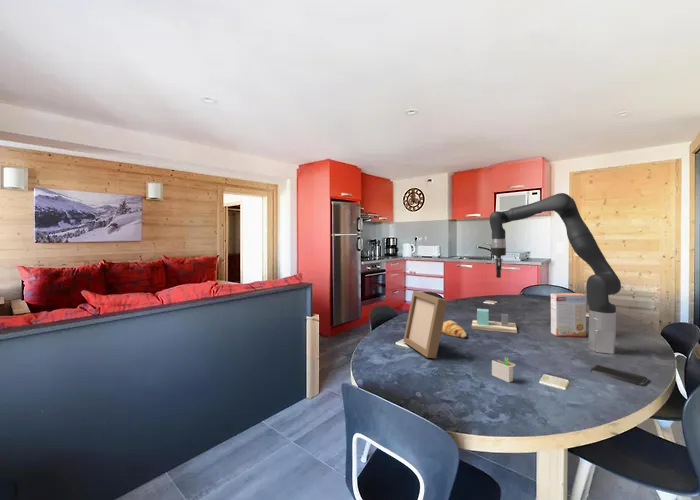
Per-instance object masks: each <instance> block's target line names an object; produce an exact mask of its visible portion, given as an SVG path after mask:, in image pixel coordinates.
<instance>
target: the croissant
mask: <svg viewBox="0 0 700 500" xmlns="http://www.w3.org/2000/svg"><path fill="white" fill-rule="evenodd" d="M441 334H444V335H447V336H451V337H456V338H457V337H458V338H461V339H462V338H466V337H467V333H466V331H465V330H464V328H463V326H461V325H459V323H457V322H456V321H453V320H451V319H448V320H446V321H443V326H442V331H441Z"/></svg>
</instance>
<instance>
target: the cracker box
mask: <svg viewBox="0 0 700 500" xmlns="http://www.w3.org/2000/svg"><path fill="white" fill-rule="evenodd" d="M550 334H552V335H553V336H555V337H586V336H587V294H584V293H582V292H563V293H562V292H557V293H555V292H554V293H553V292H552V293H550Z"/></svg>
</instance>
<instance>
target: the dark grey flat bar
mask: <svg viewBox="0 0 700 500" xmlns="http://www.w3.org/2000/svg"><path fill="white" fill-rule="evenodd" d="M590 372H591V373H593V374H596V375H600V376H602V377H603V376H604V377H608V378H610V379H614V380H617V381H622V382H625V383H628V384H631V385H635V386H639V387H644V386H645V385H646V384H647V383H648V382H649V380H650V379H649V378H648V377H646V376H643V375H639V374H635V373H631V372H627V371H624V370H620V369H616V368H612V367H608V366H606V365H605V366H604V365H600V364H596V365H595V366H593V367H591V368H590Z"/></svg>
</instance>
